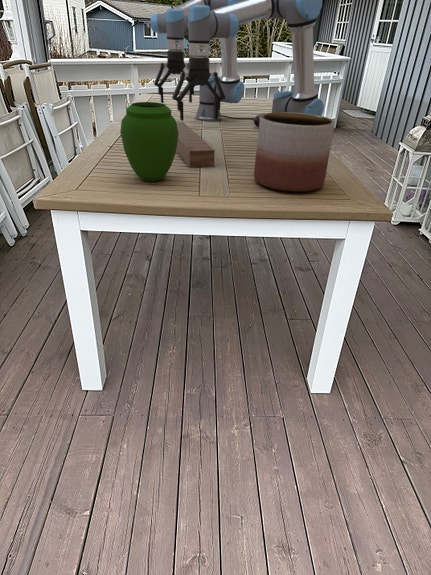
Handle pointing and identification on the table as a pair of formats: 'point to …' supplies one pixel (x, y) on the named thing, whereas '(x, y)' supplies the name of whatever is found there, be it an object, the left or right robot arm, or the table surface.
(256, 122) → the seashell
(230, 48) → the left robot arm
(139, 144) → the vase
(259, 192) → the table surface
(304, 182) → the planter
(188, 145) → the narrow beam
